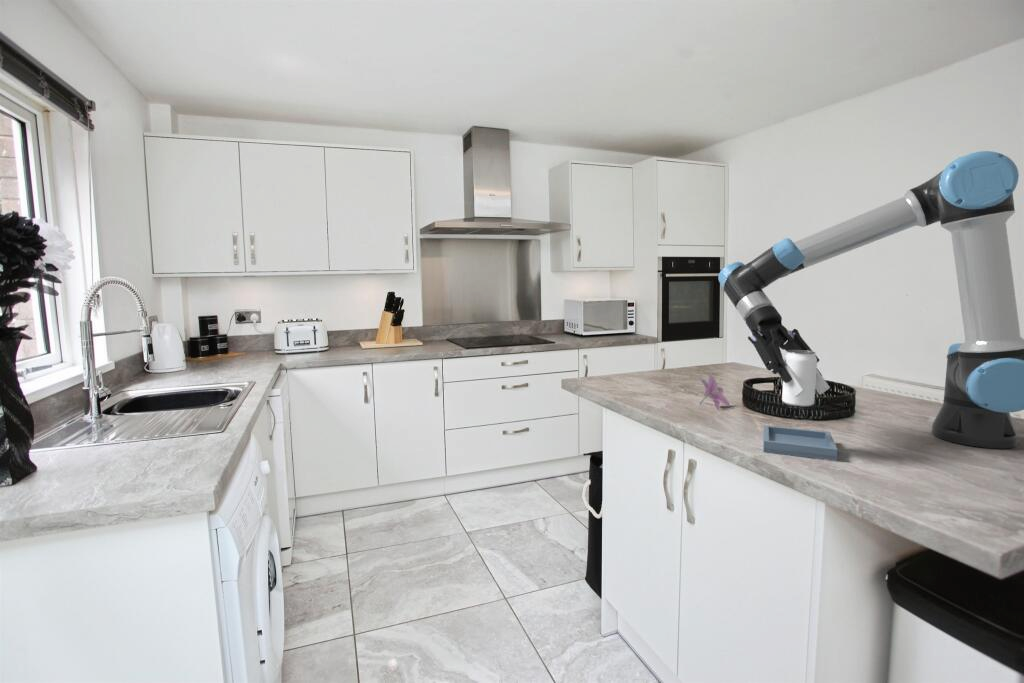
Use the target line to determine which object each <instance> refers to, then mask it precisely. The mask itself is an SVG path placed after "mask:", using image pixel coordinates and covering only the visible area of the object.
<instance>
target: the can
mask: <svg viewBox="0 0 1024 683" xmlns="http://www.w3.org/2000/svg"><path fill="white" fill-rule="evenodd" d="M786 352H787V353H786V354H785V356H784V359H783V360H784V362H785V366H784V367H786V366H790V368H791V369H792V370H793V372H794V373H795V375H796V376H797V378H798V379H799V381H800V382H801V384H802V385H803V387H804V388H805V391H804V392H802V393H801V394H800V395H799V396H798V397H795V396H794V395H793V393H792V391H791V390H790V388H789V387H788V385H787V384H786V383H785V382H784V381H783V380H782V395H781V400H782V403H783V404H785V405H790V406H793V407H811V406H813V405H814V404H815V395H816V389H815V385H816V370H817V369H818V367H817V366H818V363H817V358H816V356H817V355H816V352H815V351H813V350H812V351H806V350H788V351H786ZM815 355H816V356H815Z"/></svg>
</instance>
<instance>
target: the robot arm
mask: <svg viewBox="0 0 1024 683" xmlns="http://www.w3.org/2000/svg"><path fill="white" fill-rule="evenodd" d="M1019 177H1020V176H1019V169H1018V167H1017V165H1016V163H1015V162H1014V161H1013V160H1012V159H1011V158H1010V157H1009V156H1007V155H1005V154H1003V153H1000V152H996V151H991V150H982V151H981V150H980V151H975V152H972V153H971V152H970V153H967V154H966V155H963V156H961V157H960V156H959V157H958V158H956V159H954V160H953V161H952V162H950V163H949V164H947V165H946V167H945V168H944V169H943V170H942V171H940V172H939V173H937V174H936V175H935V176H933V177H932V178H930V179H929V180H926V181H925V182H923V183H921V184H920V185H917V186H916V187H912V188H910V189H909V190H906V191H905V193H904V196H902V197H899V198H897V199H895V200H892V201H891V202H888V203H885V204H883V205H880V206H878V207H876V208H873V209H871V210H868V211H866V212H864V213H861V214H858V215H856V216H853V217H852V218H850V219H847V220H845V221H842V222H840V223H837V224H835V225H832V226H830V227H828V228H824V229H823V230H821V231H818V232H816V233H813V234H811V235H808V236H806V237H804V238H801V239H799V240H797V241H795V242H794V241H792V239H791V238H788V237H785V238H783V239H782V240H780V241H778V242H777V243H775V244H773V246H771V247H769V248H768V249H766V250H764V251H763V252H762V253H761V254H760V255H758V256H757V257H756V258H754V259H753V260H751V261H750V262H747V263H746V264H744V263H743V262H740V261H736V262H732V263H731V264H727V265H725V266H724V267H723V268H722V269H721V270H720V272H719V274H718V277H717V278H718V282H719V283H720V285H721V287H722V290H723V292H724V293H725V294H726V295H727V297H728V299H729V300H730V301H731V303H732V304H733V306H734V308H735V309H736V310H737V312H738V314H739V315H740V316H741V318H742V319H743V321H744V322H745V324H746V326H747V327H748V330H749V331H750V332H751V333H750V334H749V335H748V337H747V339H748V340H749V341H750V343H751V344H752V345H753V347H754V348H755V350H756V352H757V354H758V355H759V356H758V357H760V359H761V361H762V363H763V364H764V366H765V368H766V369H767V370H768V371H771V370H772V371H771V373H772V374H774V375H777V374H778V375H779V377H780V378H781V380H782V382H783V381H784V382H785V383H786V384H787V385H788V387H789V388H790V390H791V391H792V393H793V395H794V396H795V397H798V396H799V395H800V394H801V393H802V392H804V391H805V388H804V387H803V385H802V384H801V382H800V381H799V379H798V378H797V376H796V375H795V373H794V372H793V370H792V369H791V368H790V366H786V367H784V366H785V362H784V360H785V359H784V356H783V354H782V351H781V350H784V351H786V352H787V351H788V350H806V351H813V350H812V349H811V347H810V346H809V345H808V343H807V342H806V341H805V340H804V339H803V337H801V335H800V332H799V330H798V329H797V328H793V329H792V330H788V328H786V327H785V326H784V325H783V324H782V323H783V322H782V319H783V317H782V315H781V314H780V313H779V311H778V310H777V309H776V307H775V306H774V303H773V302H772V301H771V300H770V299H769V297H768V296H767V294H766V293H765V292H764V291H763V290H764V289H765V288H766V287H769V285H771V284H772V283H774V282H776V281H777V280H779V279H782V278H785V277H787V276H789V275H791V274H794V273H796V272H799V271H801V270H803V269H806V268H808V267H812V266H814V265H816V264H819V263H821V262H824V261H827V260H829V259H832V258H834V257H839V256H840V255H843V254H845V253H849V252H850V251H853V250H855V249H858V248H861V247H863V246H865V245H869V244H871V243H873V242H876V241H879V240H881V239H884V238H887V237H889V236H892V235H894V234H898V233H900V232H902V231H905V230H907V229H910V228H913V227H916V226H918V227H922V228H925V227H928V226H930V225H932V224H935V223H939V222H940V227H941V228H943V229H945V230H947V231H948V232H949V233H951V241H952V249H953V250H952V251H953V256H954V264H955V273H956V279H957V280H956V281H957V286H958V293H959V296H958V297H959V302H960V310H961V316H962V324H963V332H964V339H965V340H964V342H963V343H957V342H956V343H953V344H951V345H949V346H948V352H947V354H946V360H947V361H946V368H945V369H946V371H945V372H946V373H945V382H944V394H943V403H942V406H941V407H940V410H939V411H938V413H937V415H936V417H935V419H934V420H933V422H932V424H931V434H932V435H933V436H935V437H936V438H939V439H940V440H944V441H947V442H952V443H954V444H959V445H965V446H971V447H978V448H987V449H1012V448H1016V447H1017V442H1018V435H1017V432H1016V429H1015V426H1014V422H1013V419H1012V417H1011V413H1016V412H1022V411H1024V338H1022V336H1021V330H1020V323H1019V314H1018V308H1017V307H1018V306H1017V300H1016V292H1015V285H1014V277H1013V276H1014V275H1013V269H1012V268H1013V266H1012V259H1011V254H1010V253H1011V252H1010V245H1009V244H1010V243H1009V239H1008V238H1009V237H1008V229H1007V222H1008V220H1009V219H1010V218H1011V217H1012V216H1013V215H1014V214H1015V213H1016V212H1015V211H1016V209H1015V202H1014V201H1015V200H1014V194H1013V193H1014V192H1015V190H1016V188H1017V185H1018V182H1019ZM815 356H816V358H817V364H818V363H819V362H820V358H819V357H818V356H817V354H815ZM830 388H831V387H830V385H829V384H828V382H827V381H826V380H825V378H824V377H823V375H822V372H821V371H819V369H818V368H817V370H816V385H815V391H816V392H817V393H818V394H819V395H823V394H824V393H825V392H827V391H828V390H829V389H830Z"/></svg>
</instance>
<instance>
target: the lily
mask: <svg viewBox="0 0 1024 683" xmlns="http://www.w3.org/2000/svg"><path fill="white" fill-rule="evenodd" d="M715 378H716V377H715V376H714V374H712V372H709V377H708V381H707V380H705V379H703V378H702V377H699V380H700V381H701V383H702V385H703V386H704V387H705V391H704V393H703V396H704V397H703V399H702V400H701V401H700V403H699V404H701V405H702V403H703V402H704V401H705V399H707V398H708V399H711V400H712V402H713V403H714V405H715V407H716V410H717V411H719V410H720V403H721V404H723V405H725V406H727V407H728V408H730V407H729V406H731V404H730V402H729V401H728V399H727V398H726V396H725V395H724V394H723V393H724V388H723V387H720V386H718V383H717V380H716V379H715ZM718 409H719V410H718Z"/></svg>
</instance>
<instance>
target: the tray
mask: <svg viewBox="0 0 1024 683" xmlns="http://www.w3.org/2000/svg"><path fill="white" fill-rule="evenodd" d="M763 453H769V454H775V455H777V454H778V455H784V456H785V455H786V456H794V457H801V456H802V458H808V457H810V458H809V459H816V458H818V460H824V459H828V460H827V461H832V460H834V461H833V462H837V461H838V448H837V445H836V443H835V440H834V439H833V435H832V434H831V432H830V431H822V430H813V429H805V428H803V429H802V428H795V427H793V428H792V427H784V426H783V427H782V426H774V425H765V424H764V425H763Z"/></svg>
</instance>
